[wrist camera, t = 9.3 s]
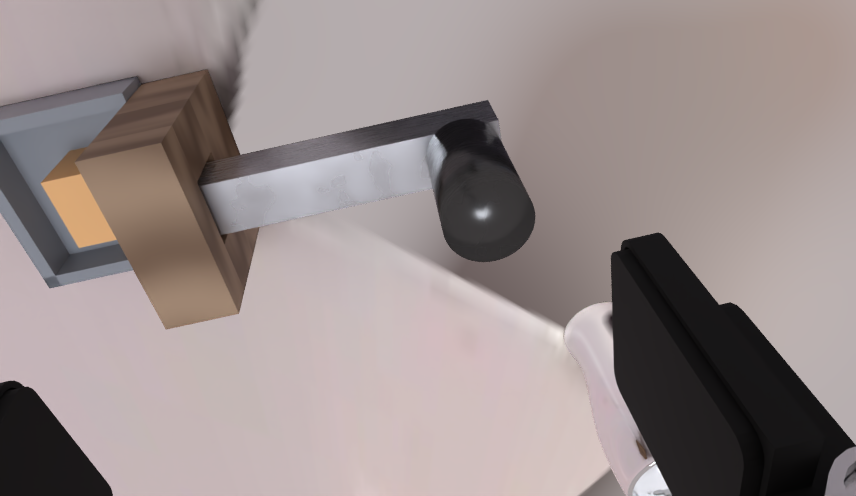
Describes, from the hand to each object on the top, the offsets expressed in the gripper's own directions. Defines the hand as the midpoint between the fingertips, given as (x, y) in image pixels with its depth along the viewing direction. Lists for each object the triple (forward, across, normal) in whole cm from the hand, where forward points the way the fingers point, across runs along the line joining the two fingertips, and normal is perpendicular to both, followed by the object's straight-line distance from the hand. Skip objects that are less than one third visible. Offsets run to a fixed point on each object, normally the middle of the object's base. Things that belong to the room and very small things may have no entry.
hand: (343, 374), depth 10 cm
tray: (+31, +18, +8) cm, 37 cm away
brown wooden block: (+31, +11, +8) cm, 34 cm away
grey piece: (+25, +3, +8) cm, 27 cm away
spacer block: (+28, +14, +8) cm, 33 cm away
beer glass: (+30, -14, +30) cm, 45 cm away
